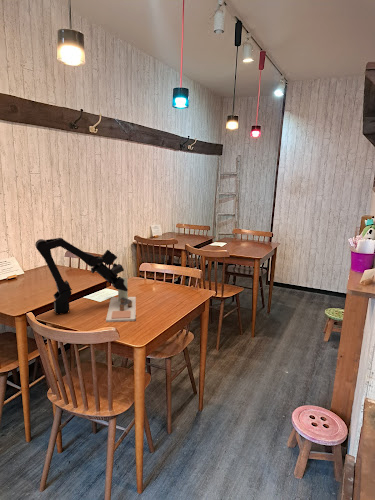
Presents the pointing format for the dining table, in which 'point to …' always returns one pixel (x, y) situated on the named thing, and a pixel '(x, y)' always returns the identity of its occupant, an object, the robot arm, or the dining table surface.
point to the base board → (116, 307)
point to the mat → (120, 314)
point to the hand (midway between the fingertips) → (124, 288)
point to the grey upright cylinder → (123, 293)
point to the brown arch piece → (125, 303)
